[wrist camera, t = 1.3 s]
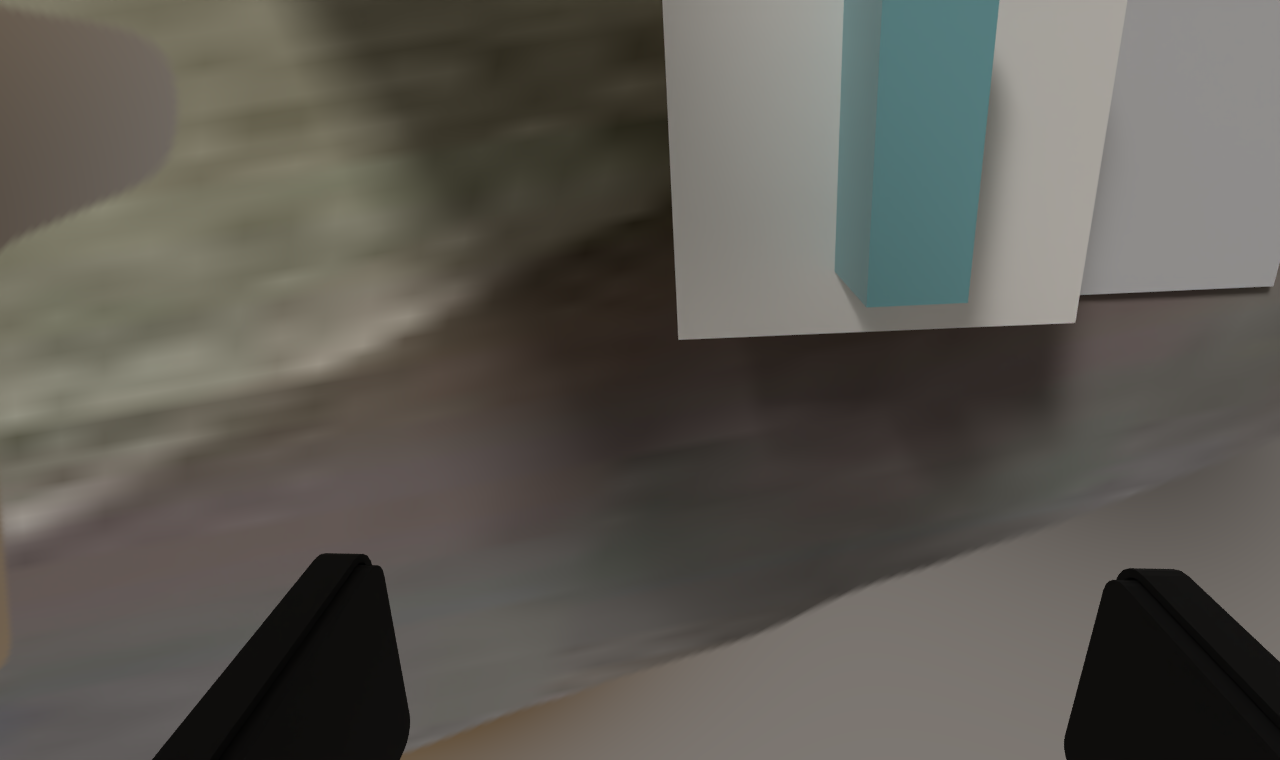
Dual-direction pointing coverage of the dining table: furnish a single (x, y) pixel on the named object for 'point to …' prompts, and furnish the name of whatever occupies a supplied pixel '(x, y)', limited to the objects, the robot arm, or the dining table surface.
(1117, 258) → the mat
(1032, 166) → the lid
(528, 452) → the dining table surface
